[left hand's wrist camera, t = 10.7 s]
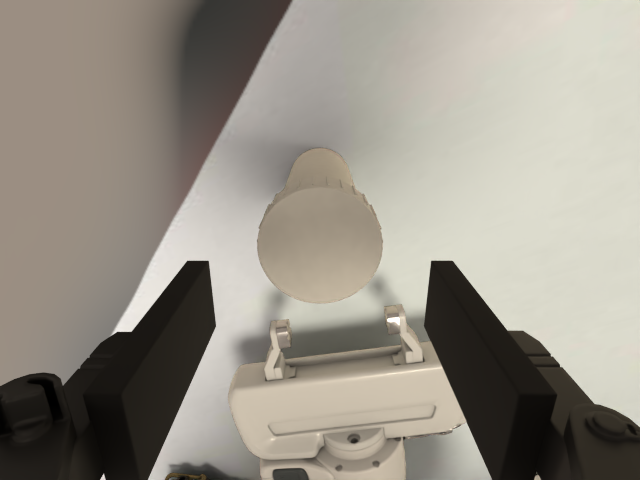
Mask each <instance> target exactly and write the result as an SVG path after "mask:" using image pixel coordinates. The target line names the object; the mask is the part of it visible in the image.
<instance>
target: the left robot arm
mask: <svg viewBox="0 0 640 480" xmlns="http://www.w3.org/2000/svg"><path fill="white" fill-rule="evenodd" d="M215 327H216V322H215V313H214V304H213V295H212V286H211V277H210V269H209V261H187V262H186V263H185V265H184V266H183V267H182V268H181V270H180V271H179V272H178V274H177V275H176V276H175V277H174V279H173V280H172V281H171V282H170V284H169V285H168V286H167V288H166V289H165V290H164V291H163V293H162V294H161V295H160V296H159V298H158V299H157V300H156V302H155V303H154V304H153V305H152V307H151V308H150V309H149V310H148V312H147V313H146V314H145V316H144V317H143V318H142V319H141V321H140V322H139V323H138V324H137V326H136V327H135V328H134V330H133V331H132V332H117V333H115V334H114V335H112V336H111V337H109V338H107V339H106V340H104V341H103V342H101V343H100V344H99V346H98V347H97V348H96V349H95V350H94V351H93V352H92V354H91V355H90V358H87V359H86V361H84V363H83V364H82V365H81V367H80V369H78V370H77V371H76V372H75V373H74V374H73V375H72V376H71V377H70V379H69V380H68V381H67V382H66V383H65V384H64V386H63V385H62V382H61V379H60V378H59V377H58V376H56V375H55V374H50V373H36V374H29V375H26V376H23V377H20V378H17V379H14V380H12V381H10V382H8V383H6V384H4V385H2V386H0V480H100V479H101V477H102V475H103V474H104V475H105V479H106V480H148V478H149V476H150V473H151V471H152V469H153V467H154V464H155V462H156V460H157V458H158V455H159V453H160V451H161V449H162V446H163V444H164V442H165V440H166V437H167V435H168V433H169V431H170V428H171V426H172V424H173V422H174V419H175V417H176V415H177V413H178V410H179V408H180V406H181V404H182V401H183V399H184V397H185V395H186V392H187V390H188V388H189V386H190V383H191V381H192V379H193V377H194V374H195V372H196V370H197V368H198V365H199V363H200V361H201V359H202V356H203V354H204V352H205V350H206V347H207V345H208V343H209V341H210V338H211V336H212V334H213V332H214V329H215ZM424 327H425V329H426V332H427V334H428V336H429V338H430V341H431V343H432V345H433V347H434V350H435V352H436V354H437V356H438V359H439V361H440V363H441V365H442V368H443V370H444V372H445V374H446V377H447V379H448V381H449V383H450V386H451V388H452V390H453V392H454V395H455V397H456V399H457V401H458V404H459V406H460V408H461V410H462V413H463V415H464V417H465V419H466V422H467V424H468V426H469V428H470V431H471V433H472V435H473V437H474V440H475V442H476V444H477V446H478V449H479V451H480V453H481V455H482V458H483V460H484V462H485V464H486V467H487V469H488V471H489V473H490V476H491V478H492V480H534V479H535V475H536V472H537V473H538V475H539V477H540V479H541V480H640V427H639V426H638V425H636V424H635V423H634V422H633V421H632V420H630V419H629V418H628V417H626V416H624V415H622V414H621V413H619V412H617V411H615V410H613V409H610V408H607V407H604V406H602V405H596V404H594V403H593V402H592V401H591V400H590V398H589V397H588V396H587V395H586V394H585V393H584V392H583V390H582V389H581V388H580V387H579V386H578V385H577V384H576V382H575V381H574V380H573V379H572V378H571V377H570V376H569V375H568V373H567V372H566V371H565V370H564V369H563V368H562V367H560V364H559V363H558V362H557V361H556V360H555V359H554V357H551V354H550V353H549V352H548V351H547V350H546V348H545V347H544V346H543V345H542V344H541V343H540V342H539V341H538V340H536V339H535V338H533V337H532V336H530V335H529V334H527V333H525V332H524V331H507V330H506V328H505V327H504V326H503V324H502V323H501V322H500V321H499V319H498V318H497V317H496V316H495V314H494V313H493V312H492V310H491V309H490V308H489V307H488V305H487V304H486V303H485V302H484V300H483V299H482V298H481V296H480V295H479V294H478V293H477V291H476V290H475V289H474V288H473V286H472V285H471V284H470V282H469V281H468V280H467V279H466V277H465V276H464V275H463V274H462V272H461V271H460V270H459V268H458V267H457V266H456V265H455V263H454V262H453V261H431V269H430V277H429V286H428V295H427V304H426V313H425V322H424Z"/></svg>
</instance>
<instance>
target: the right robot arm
mask: <svg viewBox="0 0 640 480" xmlns="http://www.w3.org/2000/svg"><path fill="white" fill-rule="evenodd" d="M384 312H385V322H386V326H387V329H388V333H389V335H390V334H399V335H400V336H401V345H395V346H387V347H379V348H371V349H363V350H355V351H347V352H339V353H331V354H323V355H315V356H307V357H299V358H291V359H284V355H283V353H282V352H280V350H281V348H288V347H291V339H292V331H291V328H290V322H289V319H285V320H277V321H271V325H270V337H271V342H272V343H271V346H270V348H269V351H268V353H267V357H266V362H259V363H250V364H243V365H241V366H240V367H239V368H238V370H237V371H236V373H235V375H234V376H233V379H232V382H231V385H230V389H229V393H228V402H229V406H230V410H231V413H232V416H233V419H234V422H235V424H236V427H237V429H238V431H239V434H240V436H241V438H242V440H243V442H244V444H245V445H246V447H247V448H248V450H249V451H250V452H251V453H252V454H254V455H255V456H257V457H259V458H260V476H261V479H262V480H405V478H406V462H405V451H404V442H403V440H404V439H412V438H420V437H425V436H429V435H436V434H438V435H446V434H450V433H452V429H454V428H457V427H459V426H461V425H462V424H464V423H466V419H465V417H464V415H463V413H462V410H461V408H460V406H459V404H458V401H457V399H456V397H455V395H454V392H453V390H452V388H451V386H450V383H449V381H448V379H447V377H446V374H445V372H444V370H443V368H442V365H441V363H440V361H439V359H438V356H437V354H436V352H435V350H434V347H433V345H432V343H431V341H427V342H419V340H418V338H417V335H416V334H415V333H414V331H413V330H412V329H411V328H410V327H409V326H408V324H407V323H406V317H405V312H404V309H403V306H402V304H401V305H393V306H385V307H384ZM534 480H541V479H540V477H539V475H537V476H535V479H534Z"/></svg>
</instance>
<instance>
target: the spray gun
mask: <svg viewBox="0 0 640 480" xmlns="http://www.w3.org/2000/svg"><path fill="white" fill-rule="evenodd" d="M171 477H178V479H172V480H193V479H195V480H197V479H198V480H210V479H208V478H206V475H204V474H201V475H200V476H197V475H188V474H179V473H170V474H168V475H167V477H166V478H165V480H169V478H171Z"/></svg>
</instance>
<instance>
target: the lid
mask: <svg viewBox="0 0 640 480" xmlns="http://www.w3.org/2000/svg"><path fill="white" fill-rule="evenodd" d="M259 229H260V230H259V234H258V239H257V249H258V256H259V260H260V263H261V266H262V268H263V270H264V272H265V274H266V275H267V277H268V278H269V279H270V281H271V282H272V283H273V284H274V285H275V286H276V287H277V288H278V289H280V290H281V291H282V292H284V293H285V294H287V295H289V296H291V297H293V298H295V299H298V300H301V301H304V302H310V303H330V302H336V301H339V300H342V299H345V298H347V297H350V296H351V295H353V294H355V293H356V292H358V291H359V290H360V289H362V288H363V287H364V286H365V285H366V284H367V283H368V282H369V281H370V279H371V278H372V277H373V275H374V274H375V272H376V270H377V268H378V266H379V263H380V260H381V256H382V249H383V240H382V234H381V231H380V229H381V226H380V224H379V222H378V220H377V217H376V214H375V211H374V209H373V207H372V205H369V203H368V202H367V200H366V198H365V195H364V194H361V193H360V192H359V191H358V190H357V189H355V187H354V186H353V185H352V186H351V185H349V184H347V183H345V182H343V181H342V179H340V180H338V179H334V178H329V177H328V176H326V177H314V176H312V177H311V178H306V179H302V180H301V179H299V180H298V181H297V182H295V183H293V184H291V185H289V186H288V185H287V186H286V188H285V189H283V190H282V191H281V192H280V193H279V194H278V193H277V194H276V196H275V198H274V200H273V202H272V203H271V205H270V204H269V205H268V207H267V209H266V211H265V214H264V217H263V219H262V222H261V224H260V226H259Z"/></svg>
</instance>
